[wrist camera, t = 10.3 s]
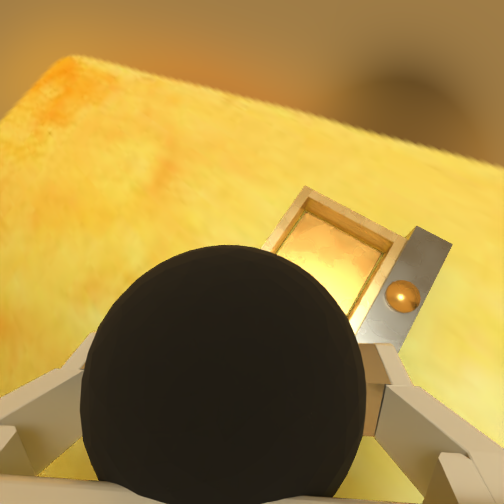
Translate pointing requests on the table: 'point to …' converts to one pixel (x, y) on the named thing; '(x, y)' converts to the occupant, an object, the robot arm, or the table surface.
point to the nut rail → (361, 264)
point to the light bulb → (224, 383)
